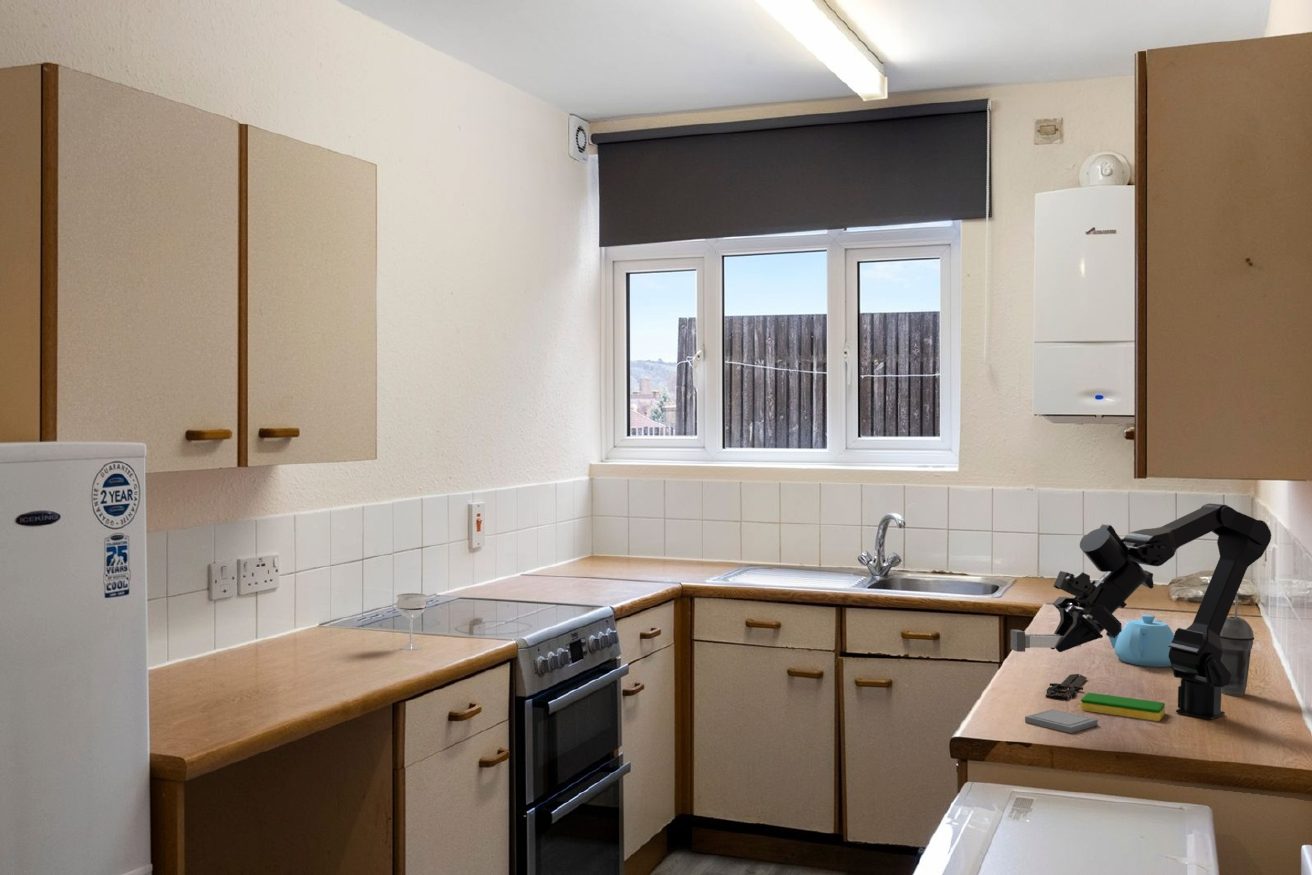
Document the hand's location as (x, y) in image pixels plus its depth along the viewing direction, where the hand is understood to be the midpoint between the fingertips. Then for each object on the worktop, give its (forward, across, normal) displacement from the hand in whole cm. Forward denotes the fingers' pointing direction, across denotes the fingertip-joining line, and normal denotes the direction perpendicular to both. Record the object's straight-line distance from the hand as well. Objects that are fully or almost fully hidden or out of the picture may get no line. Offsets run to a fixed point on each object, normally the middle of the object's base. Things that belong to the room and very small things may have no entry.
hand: (1053, 648), depth 204 cm
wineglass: (+96, -58, -84) cm, 140 cm away
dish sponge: (-2, -10, +21) cm, 24 cm away
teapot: (-22, -57, +37) cm, 71 cm away
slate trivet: (+8, -1, +10) cm, 14 cm away
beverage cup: (-24, -27, +41) cm, 55 cm away
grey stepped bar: (+4, 0, -6) cm, 7 cm away
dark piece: (-1, -30, +18) cm, 35 cm away
